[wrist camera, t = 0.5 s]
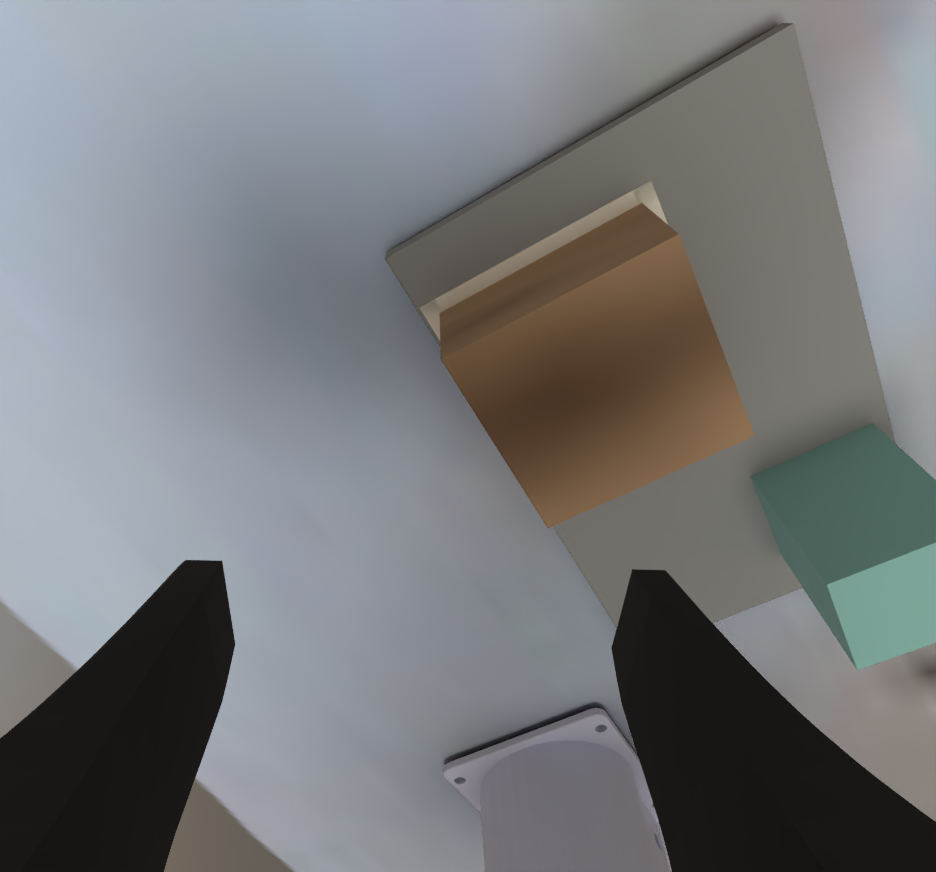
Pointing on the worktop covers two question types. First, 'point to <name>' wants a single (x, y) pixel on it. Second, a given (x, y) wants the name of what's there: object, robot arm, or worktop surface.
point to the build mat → (725, 295)
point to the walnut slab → (596, 367)
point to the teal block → (859, 540)
